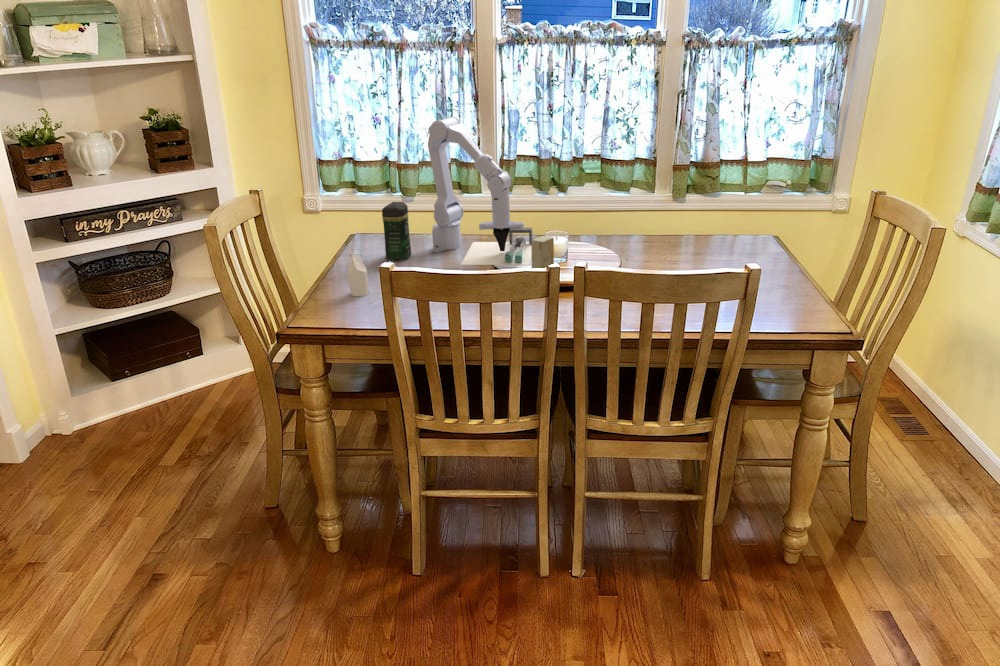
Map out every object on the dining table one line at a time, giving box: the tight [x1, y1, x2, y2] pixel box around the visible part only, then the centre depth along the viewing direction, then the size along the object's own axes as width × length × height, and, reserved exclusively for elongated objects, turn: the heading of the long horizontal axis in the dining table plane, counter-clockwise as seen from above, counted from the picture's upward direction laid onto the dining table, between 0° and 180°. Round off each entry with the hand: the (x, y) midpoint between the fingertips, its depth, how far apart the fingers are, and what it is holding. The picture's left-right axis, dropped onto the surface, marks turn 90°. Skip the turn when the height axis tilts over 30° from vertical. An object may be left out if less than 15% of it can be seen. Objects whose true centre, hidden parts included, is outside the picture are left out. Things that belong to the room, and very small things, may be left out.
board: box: [460, 241, 532, 266], centre depth 263 cm, size 22×25×1 cm
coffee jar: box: [381, 201, 412, 262], centre depth 262 cm, size 10×8×19 cm
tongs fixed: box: [515, 237, 527, 262], centre depth 261 cm, size 20×4×2 cm, turn 173°
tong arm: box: [505, 240, 517, 262], centre depth 259 cm, size 16×2×2 cm, turn 171°
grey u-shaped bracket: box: [508, 227, 533, 244], centre depth 270 cm, size 3×8×5 cm, turn 83°
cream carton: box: [347, 254, 370, 297], centre depth 233 cm, size 6×12×6 cm
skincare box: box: [531, 235, 555, 269], centre depth 240 cm, size 6×4×12 cm
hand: (502, 250), depth 261 cm, fingers closed
